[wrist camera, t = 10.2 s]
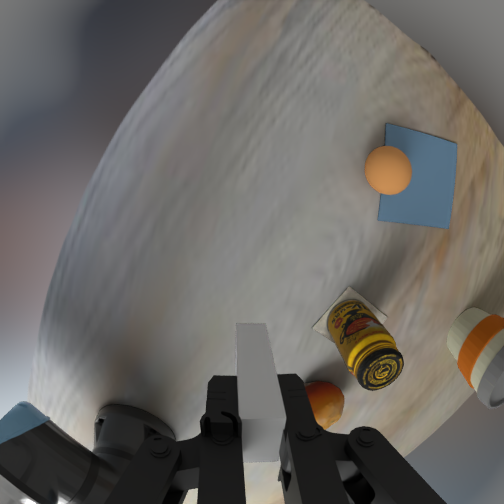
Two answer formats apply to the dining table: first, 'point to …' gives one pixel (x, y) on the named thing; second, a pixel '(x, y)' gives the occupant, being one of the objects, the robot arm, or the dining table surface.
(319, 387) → the fruit
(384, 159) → the ball
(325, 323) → the condiment
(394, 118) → the dining table surface
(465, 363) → the reusable coffee cup
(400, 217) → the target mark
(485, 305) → the dining table surface
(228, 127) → the dining table surface
